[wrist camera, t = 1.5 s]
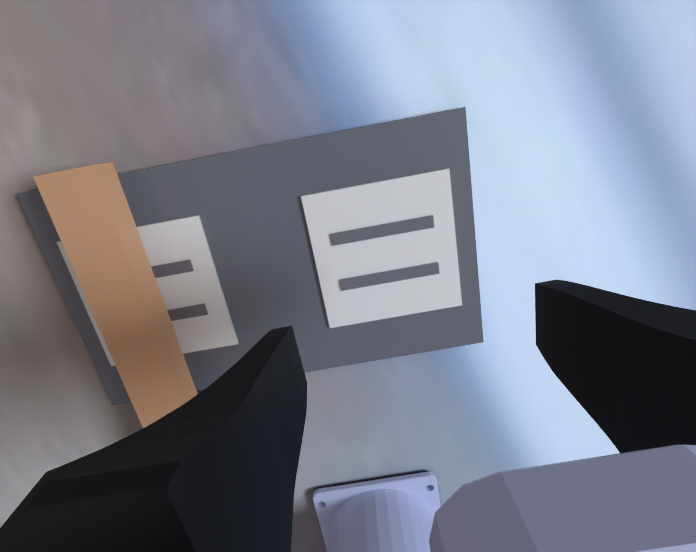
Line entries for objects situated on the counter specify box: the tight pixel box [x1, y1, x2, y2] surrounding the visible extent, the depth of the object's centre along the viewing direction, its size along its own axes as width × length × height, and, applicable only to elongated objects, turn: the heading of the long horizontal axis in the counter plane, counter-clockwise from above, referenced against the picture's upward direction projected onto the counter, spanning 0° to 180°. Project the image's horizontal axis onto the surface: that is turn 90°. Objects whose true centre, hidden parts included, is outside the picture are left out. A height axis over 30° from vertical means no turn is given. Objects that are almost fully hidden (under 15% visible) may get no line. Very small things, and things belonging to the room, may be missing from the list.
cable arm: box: [33, 162, 198, 428], centre depth 19 cm, size 16×3×2 cm, turn 10°
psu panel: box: [17, 107, 483, 405], centre depth 21 cm, size 12×21×1 cm, turn 100°
